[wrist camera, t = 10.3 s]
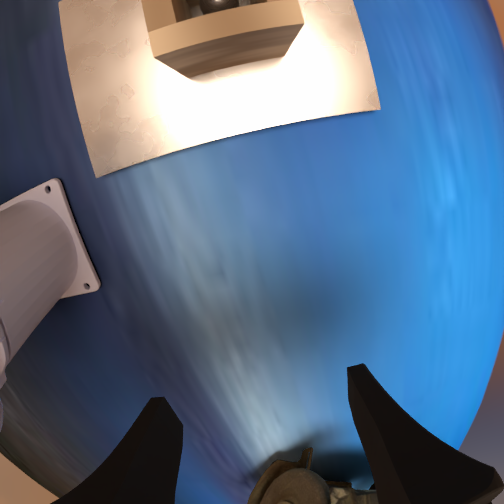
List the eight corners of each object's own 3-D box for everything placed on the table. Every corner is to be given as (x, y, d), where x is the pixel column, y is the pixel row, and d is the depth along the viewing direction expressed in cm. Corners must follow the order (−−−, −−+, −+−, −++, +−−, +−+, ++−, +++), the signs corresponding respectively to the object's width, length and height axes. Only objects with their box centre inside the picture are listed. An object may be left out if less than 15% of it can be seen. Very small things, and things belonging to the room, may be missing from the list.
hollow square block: (187, 78, 14) (153, 57, 8) (168, -1, 12) (131, -49, 6) (284, 56, 13) (305, 23, 8) (262, -23, 11) (268, -81, 6)
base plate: (103, 174, 17) (57, 197, 12) (66, 6, 12) (19, -14, 7) (373, 109, 15) (418, 109, 11) (320, -63, 11) (341, -107, 6)
